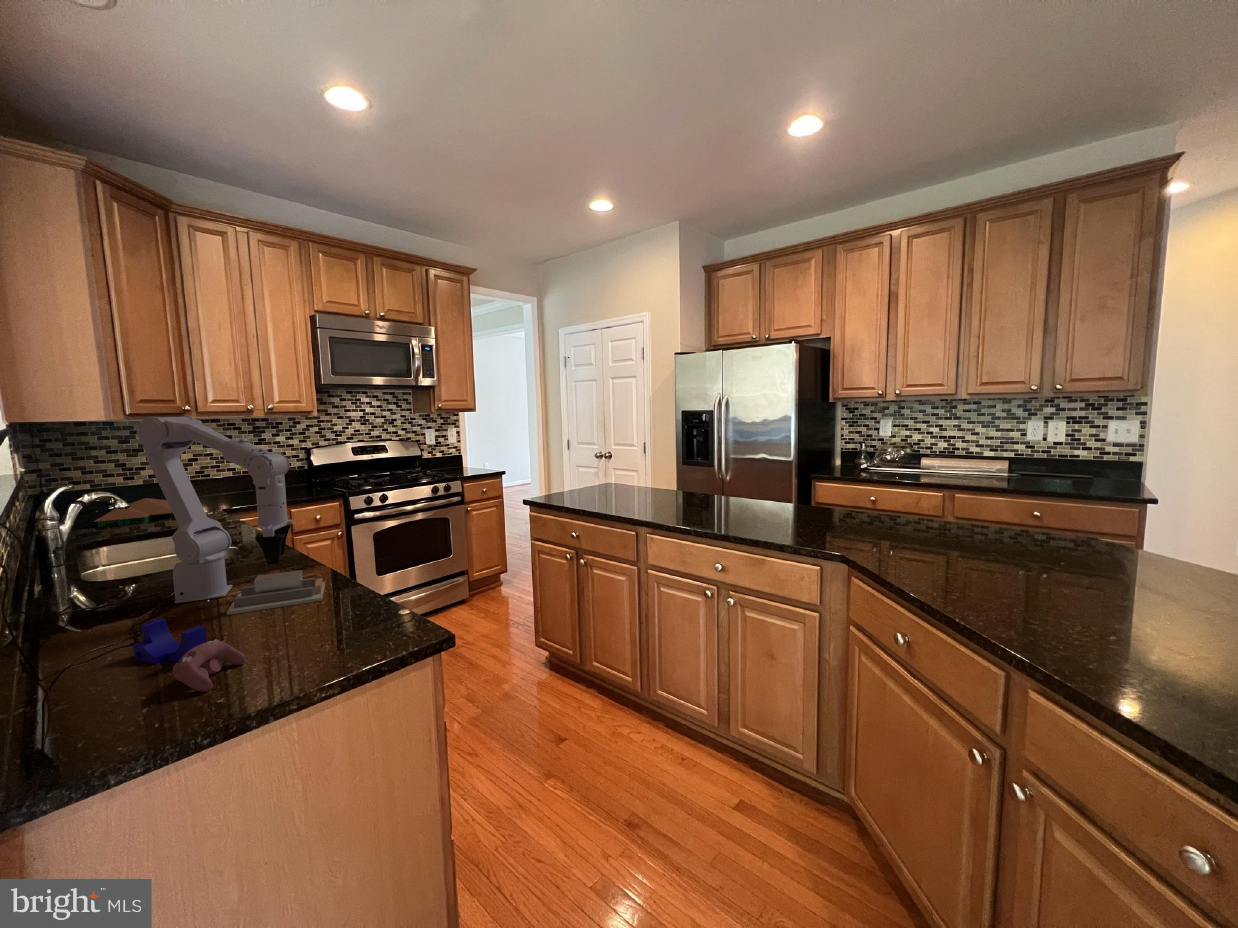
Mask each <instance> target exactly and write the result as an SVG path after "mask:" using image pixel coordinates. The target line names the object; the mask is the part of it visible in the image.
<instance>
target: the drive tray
mask: <svg viewBox="0 0 1238 928" xmlns="http://www.w3.org/2000/svg"><path fill="white" fill-rule="evenodd" d="M323 580H324V579H323V577H320V578H315V577H310V578H303V588H300V589H293V590H285V591H278V592H271V593H264V594H257V595H255V586H254V585H249V586H242V587H240V593H238V594H237V595H236V597H234V598H233V602H232V603H231V605H230V606H229V608H228V610H227V611H226V615H227V616H230V615H236V614H237V615H238V614H242V613H243V614H245V613H251V612H257V611H264V610H269V609H277V608H281V607H282V608H283V607H288V606H289V607H291V606H296V605H302V604H303V605H304V604H310V603H315V602H322V601H323V598H324V597H323V596H324V592H325V587H326V581H323Z"/></svg>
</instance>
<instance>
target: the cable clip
mask: <svg viewBox="0 0 1238 928" xmlns="http://www.w3.org/2000/svg"><path fill="white" fill-rule="evenodd" d="M206 628H207V627H206V626H203V625H198V626H196V627H194V628H193V627H192V628H191V629H188V630H185V631H183V632H181V633H180V635H181V639H180V642H178V640H176V639H175V638H174V637H173V635H172V634H171V632H170V629H169V627H168V624H167V619H165V618H159V619H156V620H153V621H150V622H147V623H144V624H141V632H142V633H141V634H142V641H138V642H136V643H133V644H132V645H133V655H134V660H137V661H143V662H146V663H151V664H156V665H158V664H161V663H164V662H166V661H170V662H175V663H177V662H178V661H179V660H180V659H181V658H182V657H183V656H184V655H185V654H186V653H187V652H188V651H189V650H191V649H192V648H194V647H196V646H198V645H200V644H203V643H206V642H208V639H207V629H206Z"/></svg>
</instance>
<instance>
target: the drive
mask: <svg viewBox="0 0 1238 928" xmlns="http://www.w3.org/2000/svg"><path fill="white" fill-rule="evenodd" d="M303 579H304V578H303V570H294V571H293V570H292V571H283V572H276V573H268V574H259V575H257V576H256V577H255V579H254V580H253V586H255V595H257V594H264V593H271V592H278V591H285V590H293V589H300V588H303Z"/></svg>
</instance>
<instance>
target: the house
mask: <svg viewBox="0 0 1238 928" xmlns="http://www.w3.org/2000/svg"><path fill="white" fill-rule="evenodd" d="M128 504H129V506H130V507H129V508H127V509H124V508H123V509H118V507H116V508H114V509H113V510H110V511H109V512H107V513H105V514H104V515H103V516H101V517H99V518H96V520H93V522H95V523H96V522H97V526H98V529H100V528H102V527H103V526H109V525H110V526H111V525H113V526H117V525H118V526H123V525H125V526H127V525H130V523H131V524H133V523H134V525H136V524H137V525H138V523H139V522H137V520H134V519H141V520H142V522H144V524H145V525H146V524H147V523H148V522H150V521H151V520H152V516H154V517H155V516H156V517H157V516H158V515H164V518H166V516H168V515H169V516H170V515H171V514H173V512H172V510H171V508H170V506H169V504H168V502H167V500H166V499H159V498H158V499H157V498H148V497H145V498H141V499H139V500H136V501H134V502H130V503H128ZM165 515H166V516H165ZM111 521H116V522H111ZM135 523H136V524H135ZM108 524H109V525H108Z"/></svg>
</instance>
